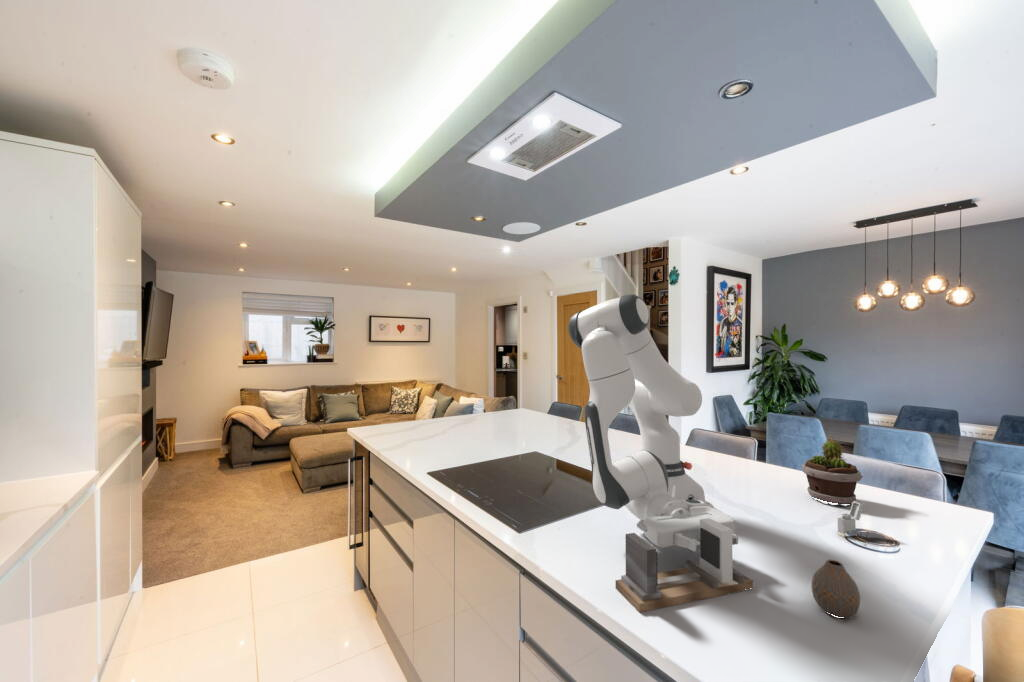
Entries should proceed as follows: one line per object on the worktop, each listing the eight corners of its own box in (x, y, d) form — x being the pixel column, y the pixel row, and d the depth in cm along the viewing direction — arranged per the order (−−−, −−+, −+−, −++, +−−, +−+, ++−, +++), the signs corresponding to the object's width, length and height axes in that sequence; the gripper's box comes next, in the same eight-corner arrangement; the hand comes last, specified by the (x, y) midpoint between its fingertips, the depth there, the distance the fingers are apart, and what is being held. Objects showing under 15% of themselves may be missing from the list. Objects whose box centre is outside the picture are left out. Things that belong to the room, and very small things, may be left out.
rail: (721, 568, 89) (721, 519, 89) (753, 588, 81) (752, 534, 81) (615, 588, 81) (615, 534, 82) (639, 612, 74) (638, 552, 74)
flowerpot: (856, 514, 119) (855, 444, 120) (795, 499, 131) (793, 436, 132) (868, 502, 128) (866, 438, 129) (809, 490, 140) (808, 431, 141)
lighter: (844, 537, 104) (843, 505, 104) (837, 534, 105) (836, 503, 106) (864, 534, 106) (863, 502, 106) (857, 531, 108) (856, 500, 108)
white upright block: (709, 566, 87) (709, 518, 87) (732, 581, 81) (732, 529, 81) (698, 568, 86) (698, 519, 86) (720, 583, 80) (720, 531, 80)
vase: (802, 601, 77) (801, 554, 77) (836, 599, 78) (835, 552, 78) (834, 625, 70) (833, 573, 70) (871, 623, 71) (870, 572, 71)
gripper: (632, 508, 93) (673, 534, 80) (706, 499, 99) (755, 522, 86) (632, 536, 93) (673, 567, 80) (706, 526, 99) (756, 553, 85)
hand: (716, 544), depth 83 cm, fingers open, 8 cm apart
